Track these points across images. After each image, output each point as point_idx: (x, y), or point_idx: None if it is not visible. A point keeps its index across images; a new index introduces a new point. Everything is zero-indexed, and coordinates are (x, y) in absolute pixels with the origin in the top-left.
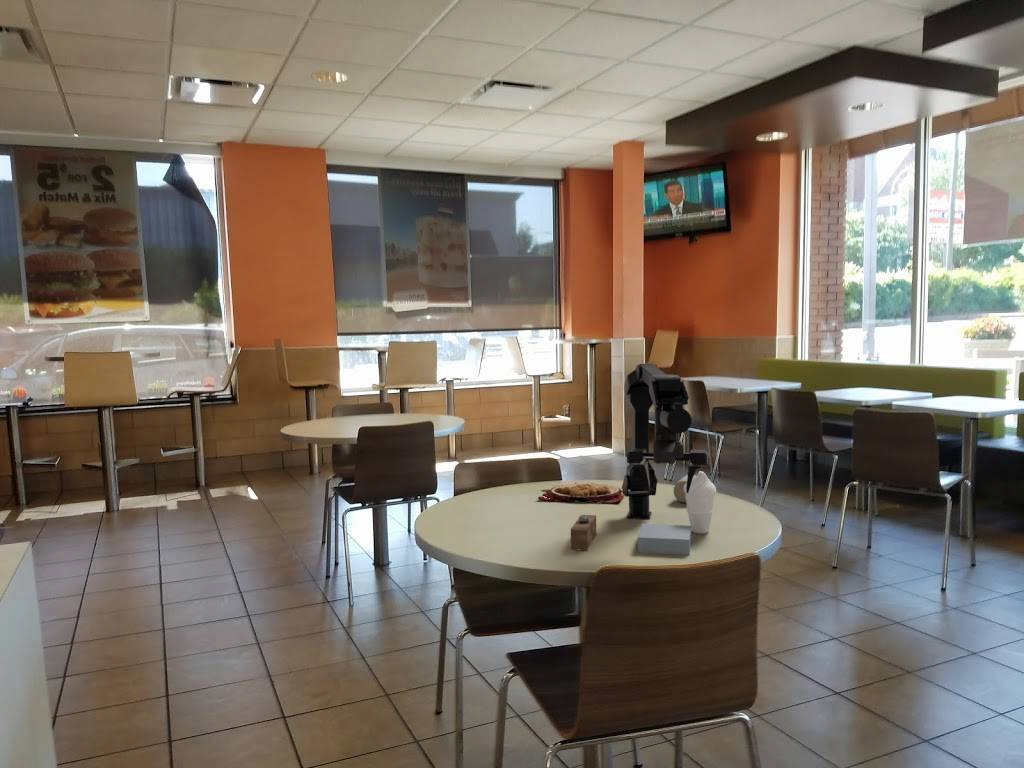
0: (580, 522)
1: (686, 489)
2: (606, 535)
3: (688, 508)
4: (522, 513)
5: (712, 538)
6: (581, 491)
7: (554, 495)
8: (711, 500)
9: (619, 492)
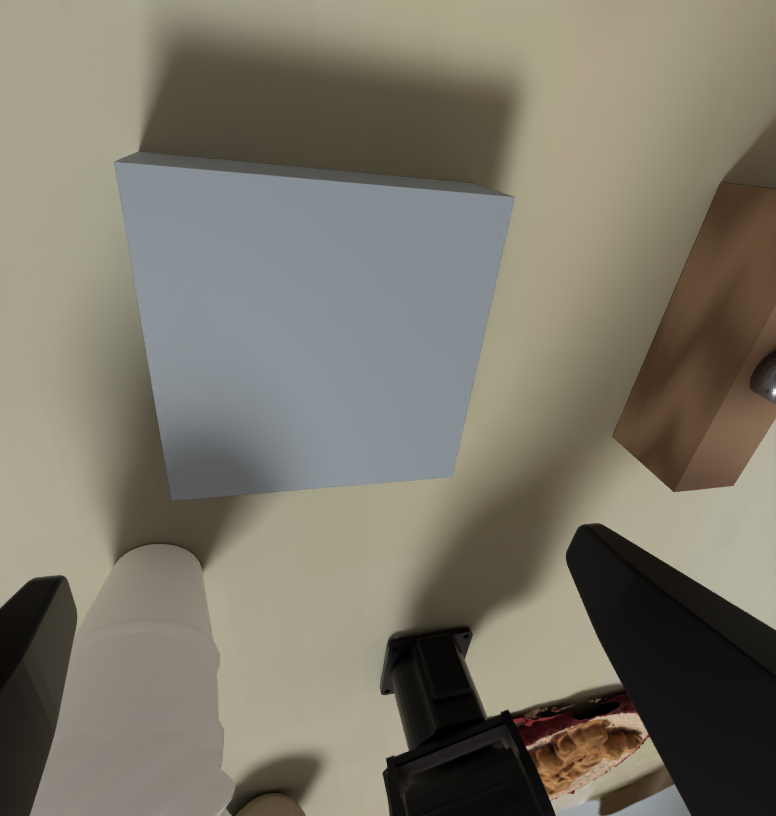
0: None
1: (39, 619)
2: (576, 431)
3: (203, 658)
4: (766, 579)
5: (65, 493)
6: (578, 751)
7: None
8: None
9: None
